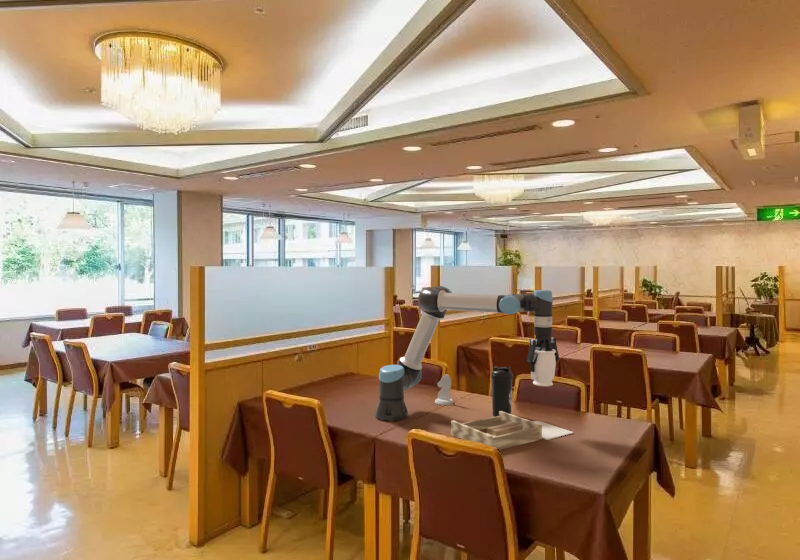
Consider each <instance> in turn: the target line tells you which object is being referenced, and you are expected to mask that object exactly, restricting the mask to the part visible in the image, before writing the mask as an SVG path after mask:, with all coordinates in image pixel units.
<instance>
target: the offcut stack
mask: <svg viewBox="0 0 800 560" xmlns="http://www.w3.org/2000/svg"><path fill="white" fill-rule="evenodd" d="M521 430H523V425H522V424H519V423H516V422H510V423H506V424H502V425H497V426H493V427H489V428H486V432H485V433H486V434H489V435H491V436H492V437H495V436H500V435H504V434H508V433H513V432H517V431H521Z"/></svg>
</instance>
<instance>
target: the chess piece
mask: <svg viewBox="0 0 800 560" xmlns="http://www.w3.org/2000/svg"><path fill="white" fill-rule="evenodd" d="M437 387H438V388H440V390H439V391H438V393H437V398H436V399H435V400H434V404H435V403H436V404H435V405H437V404H438V405H439V406H451V404H452V405H454V404H453V403H454V400H453V399H452V395H451V394H450V393H451V387H452V379H451V376H450V375H449V374H447V373H446V374H443V376H442V377H441V378H440V380H439V381H438V382H437Z"/></svg>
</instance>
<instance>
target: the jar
mask: <svg viewBox="0 0 800 560" xmlns="http://www.w3.org/2000/svg"><path fill="white" fill-rule="evenodd" d="M535 353H536V354H538V356H537V361H536V363H535V364H537V380H533V381H532V384H533V385H535V386H539V387H551V386H553V385H554V383H553V379H554V378H555V377H554V374H555V372H556V367H557V362H556V360H555V355H554V353H556V350H554V349H552V351H546V349H545V348H543V349H542V350H541V351H537V350H535Z"/></svg>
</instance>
